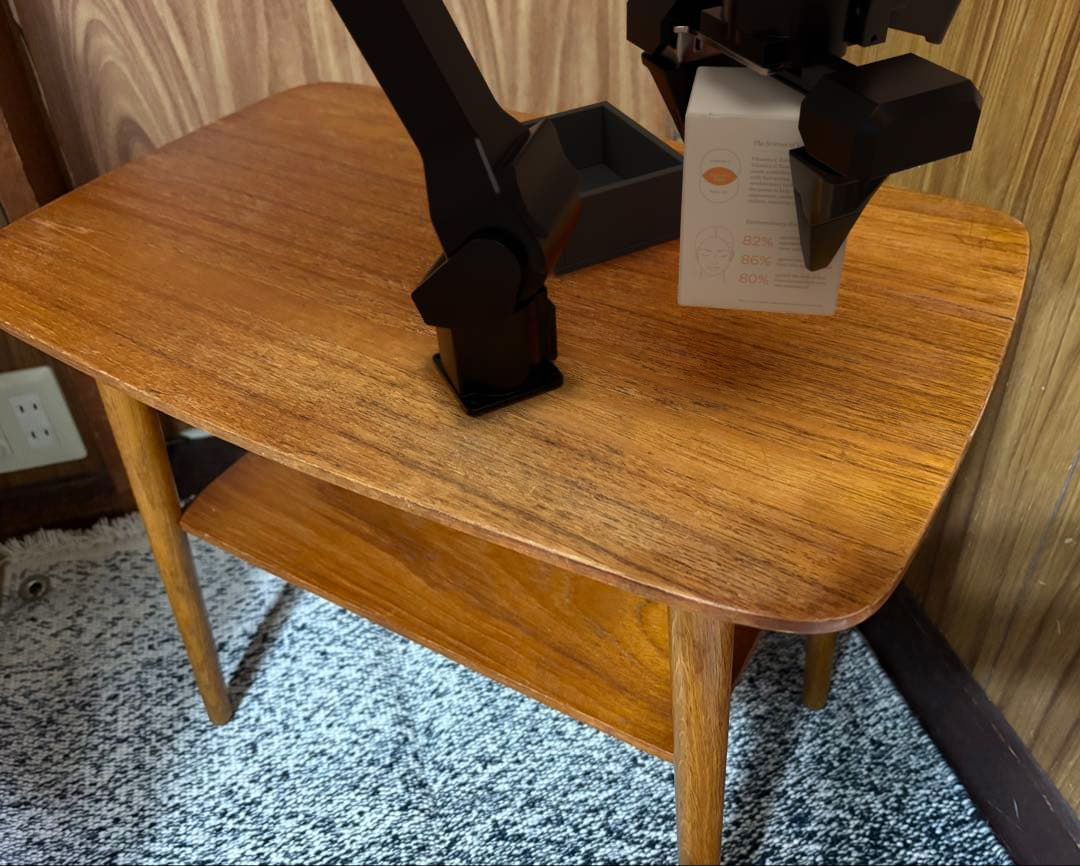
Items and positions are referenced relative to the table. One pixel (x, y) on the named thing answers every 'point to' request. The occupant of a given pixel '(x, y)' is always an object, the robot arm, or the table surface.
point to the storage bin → (617, 185)
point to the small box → (745, 200)
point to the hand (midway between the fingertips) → (763, 227)
